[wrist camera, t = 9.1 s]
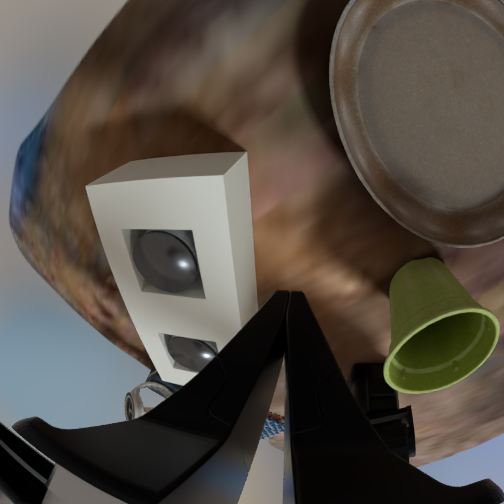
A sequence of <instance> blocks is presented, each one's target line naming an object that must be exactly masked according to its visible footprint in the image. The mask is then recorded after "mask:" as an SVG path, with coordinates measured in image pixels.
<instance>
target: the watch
mask: <svg viewBox="0 0 504 504" xmlns="http://www.w3.org/2000/svg"><path fill="white" fill-rule="evenodd" d="M182 386H183V385H179V384H174V383H170V382H166V381H162V379H161V377H160V375H159V373H158V371H157V370H156V368H155V367H154V368H153V369H152V370H151V372H150V374H149V376H148V378H147V380H146V382H145V383H142V384H140V385H139V386H137V387H136V388H134V389H133V390H132V391H131V392H128V393H127V395H126V398H125V415H126V420H127V421H128V420H132V419H135V418H138V417H140V416H142V415H144V407H143V402H142V400H141V397H140V395H139V392H140V388H146V387H148V388H149V389H151V390H152V391H154V392H156V393H157V394H159V395H161V396H163V397H164V398H166V399H167V398H168V397H169V396H171V395H172V394H173V393H175V392H176V391H177V390H178V389H180V388H181V387H182Z"/></svg>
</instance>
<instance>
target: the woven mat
mask: <svg viewBox="0 0 504 504" xmlns="http://www.w3.org/2000/svg"><path fill="white" fill-rule="evenodd" d="M277 418H278V419H277ZM281 432H284V418H283V417H280V416H278V415H275V414H272V413H270V412H268V415H267V418H266V421H265V425H264V428H263V431H262V434H261V437H260V439H264V438H265V439H266V436H267V437H271V436H273V435H276V434H281Z"/></svg>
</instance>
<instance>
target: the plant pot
mask: <svg viewBox="0 0 504 504" xmlns="http://www.w3.org/2000/svg"><path fill="white" fill-rule="evenodd" d="M389 297H390V311H391V344H390V347H389V354H388V356H387V358H386V360H385V363H384V370H383V371H384V378H385V380H386V382H387V383H388V384H389V385H390V386H391V387H392V388H393V389H395V390H398V391H400V392H404V393H414V394H418V393H427V392H432V391H437V390H440V389H443V388H446V387H448V386H451V385H453V384H455V383H457V382H459V381H461V380H462V379H464V378H466V377H467V376H469V375H470V374H471V373H473V372H474V371H475V370H476V369H477V368H478V367H480V366H481V365H482V364H483V363H484V362H485V360H486V359H487V358H488V357H489V355H490V354H491V353H492V351H493V349H494V347H495V345H496V343H497V341H498V337H499V322H498V320H497V318H496V317H495V315H494V314H493V313H492V312H491V311H490V310H488V309H486V308H484V307H482V306H481V305H480V304H479V303H477V302H476V301H474V300H473V299H472V297H471V296H470V295H469V293H468V292H467V291H466V290H465V289H464V287H463V286H462V285H461V284H460V283H459V281H458V280H457V279H456V278H455V277H454V275H453V274H452V273H451V272H450V270H449V269H448V268H447V267H446V266H445V264H444V263H442V262H441V261H440V260H438V259H436V258H432V257H428V258H425V259H419V260H412V261H410V262H408V263H406V264H405V265H404V266H402V267H401V268H400V269H399V270H398V271H397V272H396V274H395V275H394V277H393V279H392V281H391V283H390V290H389Z"/></svg>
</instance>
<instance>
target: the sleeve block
mask: <svg viewBox="0 0 504 504" xmlns="http://www.w3.org/2000/svg"><path fill="white" fill-rule="evenodd" d="M85 187H86V191H87V195H88V198H89V202H90V206H91V209H92V213H93V216H94V219H95V223H96V226H97V229H98V232H99V235H100V239H101V242H102V245H103V248H104V250H105V253H106V256H107V259H108V262H109V264H110V267H111V270H112V273H113V275H114V278H115V280H116V283H117V285H118V288H119V290H120V293H121V295H122V298H123V300H124V303H125V305H126V307H127V310H128V312H129V314H130V316H131V319H132V321H133V323H134V325H135V327H136V330H137V332H138V334H139V336H140V338H141V340H142V342H143V344H144V346H145V348H146V350H147V352H148V354H149V356H150V358H151V360H152V362H153V364H154V366H155V368H156V370H157V371H158V373H159V375H160V377H161V379H162V381H166V382H170V383H174V384H179V385H183V386H184V385H185V384H186V383H187V382H188V381H190V380H191V379H192V378H193V377H194V376H196V375H197V374H198V373H199V372H198V371H193V370H190V369H188V368H185V367H184V366H182V365H180V364H179V363H177V362H176V361H175V360H174V359H173V358H172V357H171V356H170V354H169V352H168V349H167V346H168V343H169V341H170V340H171V338H172V336H173V335H175V336H180V337H186V338H193V339H199V340H206V341H213V342H216V345H217V349H218V353H219V352H220V351H221V350H222V349H223V348H224V347H225V345H226V344H227V343H228V342H229V341H230V340H231V339H232V338H233V337H234V336H235V335H236V334H237V333H238V332H239V331H240V330H241V328H242V327H243V326H244V325H245V324H246V323H247V322H248V321H249V320H250V319H251V318H252V317H253V315H254V314H255V313H256V312H257V311H258V299H257V284H256V270H255V256H254V242H253V228H252V214H251V200H250V186H249V172H248V158H247V152H223V153H205V154H192V155H180V156H169V157H160V158H151V159H143V160H135V161H130V162H128V163H126V164H124V165H122V166H120V167H118V168H117V169H115V170H113V171H111V172H109V173H107V174H106V175H104V176H102V177H100V178H98V179H97V180H95V181H93V182H91V183H90V184H88V185H86V186H85ZM148 229H166V230H192V231H193V237H194V242H195V248H196V253H197V258H198V263H199V268H200V272H199V273H198V275H197V277H196V279H195V280H194V282H193V284H192V285H191V286H190V287H189V288H188V289H186V290H184V291H182V292H167V291H163V290H161V289H158V288H156V287H155V286H153V285H151V284H150V283H149V282H148V281H146V280H145V279H144V278H143V276H142V275H141V274H140V272H139V271H138V269H137V267H136V265H135V262H134V258H133V249H134V246H135V244H136V242H137V241H138V239H139V238H140V237H141V236H142V235H143V234H144V233H145V232H146V231H147V230H148Z"/></svg>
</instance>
